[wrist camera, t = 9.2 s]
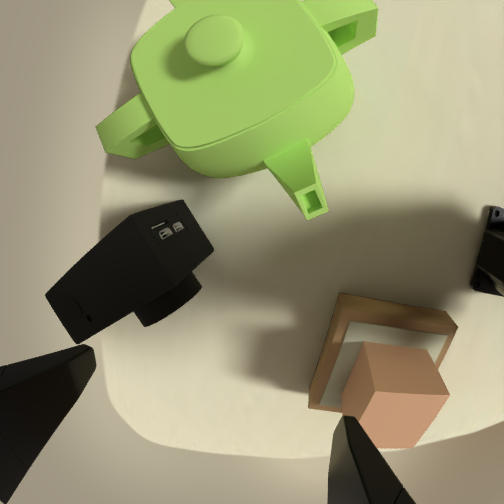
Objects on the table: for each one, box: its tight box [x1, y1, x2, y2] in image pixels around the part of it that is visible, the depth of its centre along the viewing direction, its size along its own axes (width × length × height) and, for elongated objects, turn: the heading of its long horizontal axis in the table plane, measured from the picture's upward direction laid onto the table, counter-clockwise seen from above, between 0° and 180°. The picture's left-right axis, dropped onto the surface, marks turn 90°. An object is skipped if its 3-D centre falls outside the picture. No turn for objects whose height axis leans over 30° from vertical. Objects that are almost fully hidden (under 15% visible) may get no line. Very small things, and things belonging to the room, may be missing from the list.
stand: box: [308, 293, 458, 413], centre depth 20 cm, size 9×9×3 cm
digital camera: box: [45, 200, 214, 344], centre depth 19 cm, size 10×5×7 cm, turn 122°
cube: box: [341, 341, 450, 448], centre depth 16 cm, size 5×5×5 cm
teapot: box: [96, 0, 378, 220], centre depth 13 cm, size 12×12×10 cm
